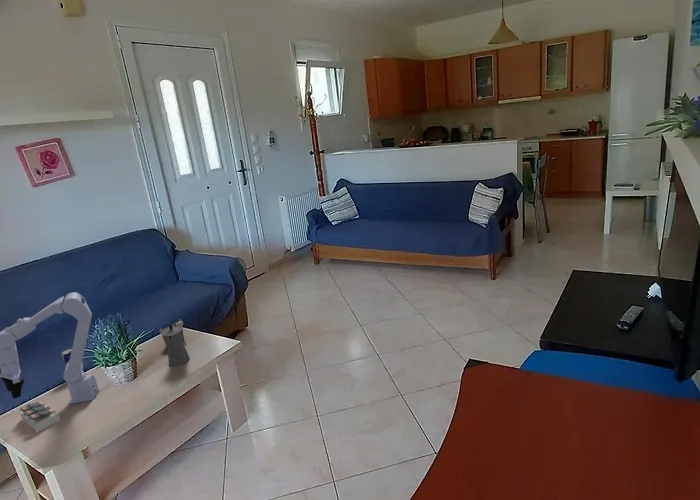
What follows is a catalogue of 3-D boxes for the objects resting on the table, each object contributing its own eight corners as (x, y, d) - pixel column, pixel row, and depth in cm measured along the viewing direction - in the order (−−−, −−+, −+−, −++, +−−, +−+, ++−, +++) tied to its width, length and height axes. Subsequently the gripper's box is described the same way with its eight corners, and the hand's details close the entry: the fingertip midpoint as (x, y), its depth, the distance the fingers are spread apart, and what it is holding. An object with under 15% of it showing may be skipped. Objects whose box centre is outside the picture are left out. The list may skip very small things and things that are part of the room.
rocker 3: (47, 412, 172) (47, 408, 172) (51, 414, 170) (51, 410, 170) (29, 418, 168) (29, 414, 167) (33, 421, 165) (32, 417, 165)
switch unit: (44, 407, 181) (42, 401, 180) (60, 419, 172) (58, 412, 171) (22, 419, 175) (19, 412, 174) (37, 432, 166) (34, 425, 165)
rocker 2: (42, 408, 175) (42, 404, 175) (46, 411, 173) (46, 407, 173) (24, 414, 171) (24, 410, 170) (28, 417, 168) (27, 413, 168)
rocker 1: (38, 404, 178) (37, 400, 178) (41, 407, 176) (41, 403, 176) (20, 410, 174) (19, 406, 173) (23, 413, 171) (23, 409, 171)
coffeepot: (188, 365, 201) (179, 328, 196) (166, 370, 199) (156, 333, 194) (191, 349, 215) (183, 315, 210) (171, 354, 214) (162, 319, 209)
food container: (171, 349, 218) (166, 330, 216) (163, 347, 222) (158, 328, 219) (192, 338, 228) (187, 320, 225) (184, 336, 231) (179, 318, 229)
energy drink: (76, 378, 202) (68, 354, 199) (66, 378, 204) (58, 354, 200) (85, 371, 207) (77, 348, 204) (75, 371, 209) (67, 348, 205)
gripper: (-9, 358, 173) (-4, 391, 176) (1, 371, 164) (6, 404, 167) (13, 353, 178) (18, 384, 181) (24, 364, 169) (29, 397, 172)
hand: (14, 393), depth 174 cm, fingers open, 7 cm apart
